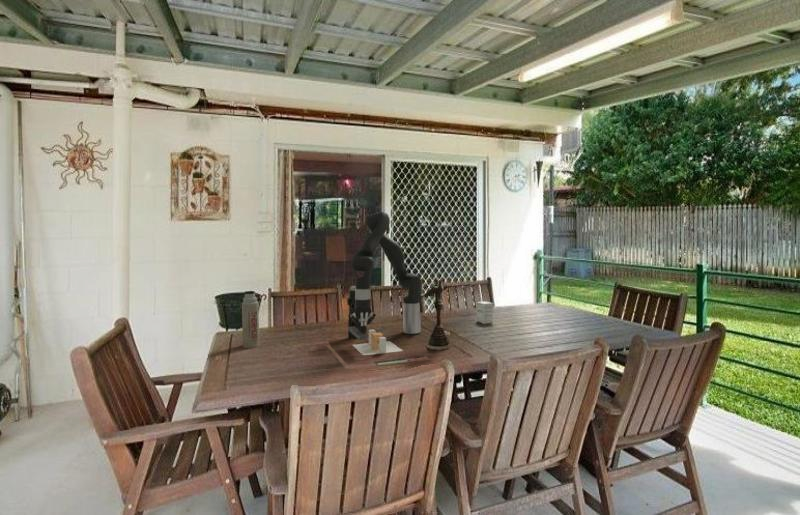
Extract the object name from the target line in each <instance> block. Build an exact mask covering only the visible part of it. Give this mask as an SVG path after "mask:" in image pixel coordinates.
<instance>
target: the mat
mask: <svg viewBox="0 0 800 515" xmlns="http://www.w3.org/2000/svg"><path fill="white" fill-rule="evenodd" d="M374 363H375V364H376V365H377V366H379V367H380V366H385V365H386V366H387V365H393V364H394V365H396V364H401V363H402V364H404V363H408V360H407V359H406V358H397V359H389V360H381V361H374Z"/></svg>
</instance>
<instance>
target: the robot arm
mask: <svg viewBox="0 0 800 515" xmlns="http://www.w3.org/2000/svg"><path fill="white" fill-rule="evenodd" d="M390 223H391V219H390V216H389V213H387V212H385V211H379V212H376V213H372V214H369V215H368V216H367V217H366V224H367V227H368V230H369V231H370V232H371V233H369V235H368V236H367V237H366V238H365V239H364V240H363V243H362V245H361V248H360V249H359V251H357V253H355V255H354V256H353V258H352V259H351V268H352V269H353V270H354V271H355V272H364V274H363V275H358V276H356V277H355V286H356V291H355V311H354V313H353V314H352V315H350V317H351V318H352V319H353V320H354V322H355V323H356V324H357V325H360V331H361V332H362V333H364V334H365V332H366V333H367V326H368V325H371V323H372V321H373V320H374V319H375V318H376V316H377V314H376V313H375V312H373V310H372V307H371V306H372V291H371V278H372V274H373V270H374V266H375V261H374V259H373V257H374V255H375V253H376V252H377V248H378V246H379V245H380V247H381V249H382V251H383V253H384V254H385V257H386V259H387V261H388V262H389V264H390V265H391V267H392V269H393V271H394V273H395V275H396V277H397V280H398V283H399V285H400V287H401V288H402V289H403V290H405V291H408V295H407V296H404V297H403V300H402V303H403V304H402V308H403V309H402V312H403V314H402V323H403V325H402V332H403V333H404V334H407V335H408V334H409V335H416V334H420V333H421V331H422V330H421V329H422V328H421V321H422V318H421V315H420V300H421V297H422V296H421V294H422V278H421V277H420V276H419V275H417V274H413V273H411V274H410V273H409V272H408V270H407V268H406V267H405V254H404V251H403V250H402V247H401V246H400V244H399V243H398V242H397V241H395V240H394V239H392V238H391V237H390V236H388V235H387V234H386V232H387V230H388V228H389V226H390ZM356 316H357V317H358V318H359V322H358V321H357V319H356Z"/></svg>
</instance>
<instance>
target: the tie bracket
mask: <svg viewBox="0 0 800 515" xmlns="http://www.w3.org/2000/svg"><path fill="white" fill-rule="evenodd" d="M371 333H376V330H375V329H373V328H372V329H368V343H367V342H366V343H358V344H352V346H353V348H355V349H356V350H357V351H358V352H359V353H360V354H361V355H362V356H371V355H377V354H378V355H379V354H380V355H381V354H387V353H397V352H403V351H404V350H403V349H402V348H400V347H398V346H397V345H396V344H394V343H393V342H392V341H389V340H388V341H387V337H386V336H383V337H379V349H373V348H372V347H371Z"/></svg>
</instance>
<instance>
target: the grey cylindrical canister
mask: <svg viewBox="0 0 800 515" xmlns="http://www.w3.org/2000/svg"><path fill="white" fill-rule="evenodd" d="M493 314H494V303H493V302H490V301H477V302H476V322H477V323H479V324H480V323H481V324H483V325H485V324H493V323H494V322H493V321H494V317H493V316H494V315H493Z"/></svg>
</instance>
